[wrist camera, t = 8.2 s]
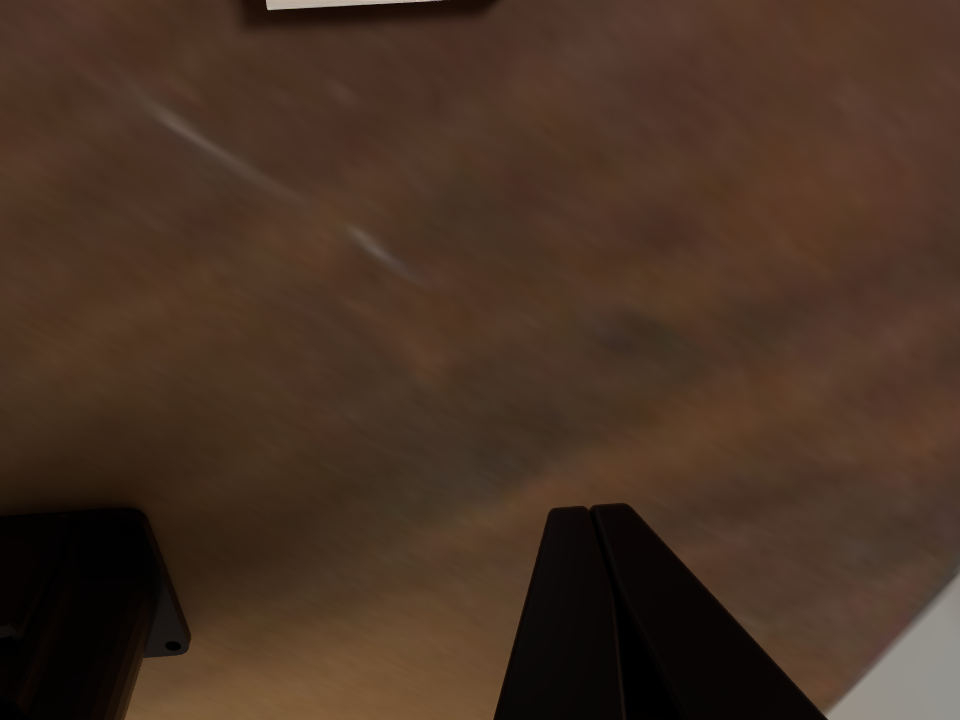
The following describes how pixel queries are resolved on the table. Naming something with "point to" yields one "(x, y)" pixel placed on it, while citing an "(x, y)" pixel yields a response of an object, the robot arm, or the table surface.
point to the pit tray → (327, 3)
